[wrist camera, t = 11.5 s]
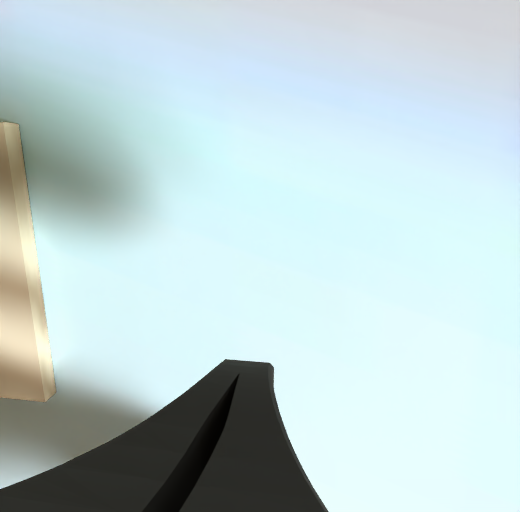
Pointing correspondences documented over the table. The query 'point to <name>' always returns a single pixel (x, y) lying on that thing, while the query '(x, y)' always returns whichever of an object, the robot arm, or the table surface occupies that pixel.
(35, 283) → the birch board
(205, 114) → the table surface
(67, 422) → the table surface
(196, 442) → the robot arm
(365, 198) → the table surface
